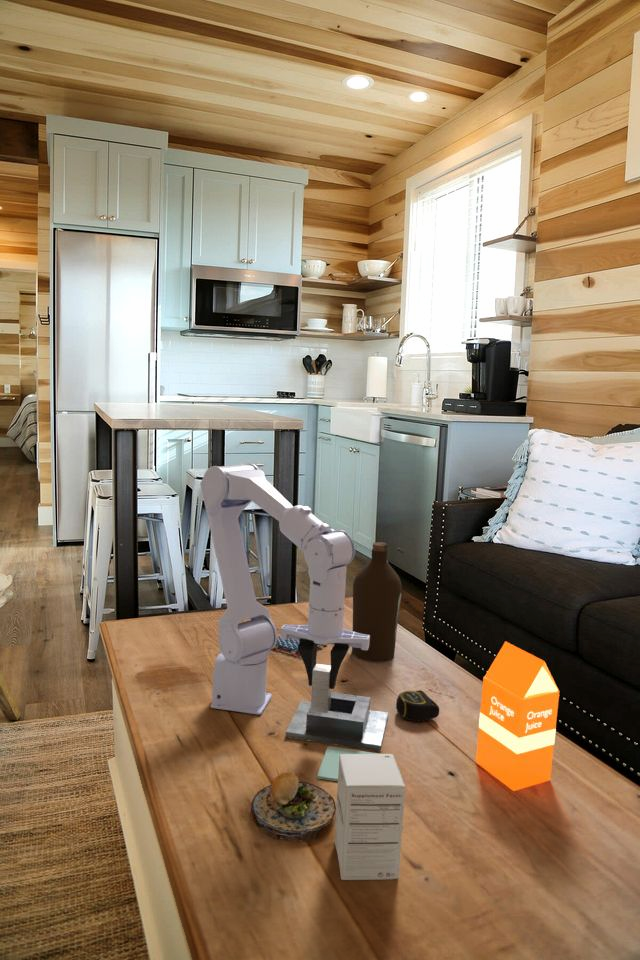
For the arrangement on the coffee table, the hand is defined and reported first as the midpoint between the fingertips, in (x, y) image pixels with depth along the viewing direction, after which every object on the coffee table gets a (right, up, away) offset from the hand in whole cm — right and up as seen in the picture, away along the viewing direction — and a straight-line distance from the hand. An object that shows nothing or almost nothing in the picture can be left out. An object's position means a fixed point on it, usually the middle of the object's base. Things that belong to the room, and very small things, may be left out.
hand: (322, 684), depth 117 cm
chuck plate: (+3, -9, +6) cm, 12 cm away
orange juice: (+30, -12, -5) cm, 33 cm away
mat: (+4, -11, -6) cm, 13 cm away
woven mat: (-5, -4, +42) cm, 43 cm away
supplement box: (+5, -15, -27) cm, 31 cm away
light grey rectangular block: (0, -4, 0) cm, 4 cm away
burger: (-4, -13, -19) cm, 23 cm away
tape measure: (+17, -9, +13) cm, 23 cm away
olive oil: (+11, -5, +40) cm, 42 cm away
